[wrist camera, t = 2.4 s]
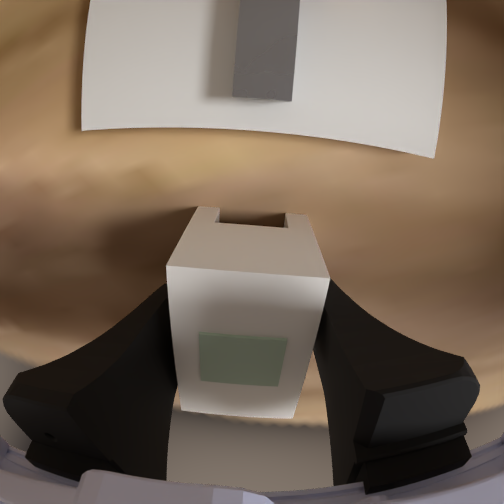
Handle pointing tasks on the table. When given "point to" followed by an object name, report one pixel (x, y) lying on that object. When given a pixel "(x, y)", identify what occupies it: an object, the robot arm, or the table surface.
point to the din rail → (266, 49)
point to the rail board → (305, 75)
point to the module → (244, 313)
